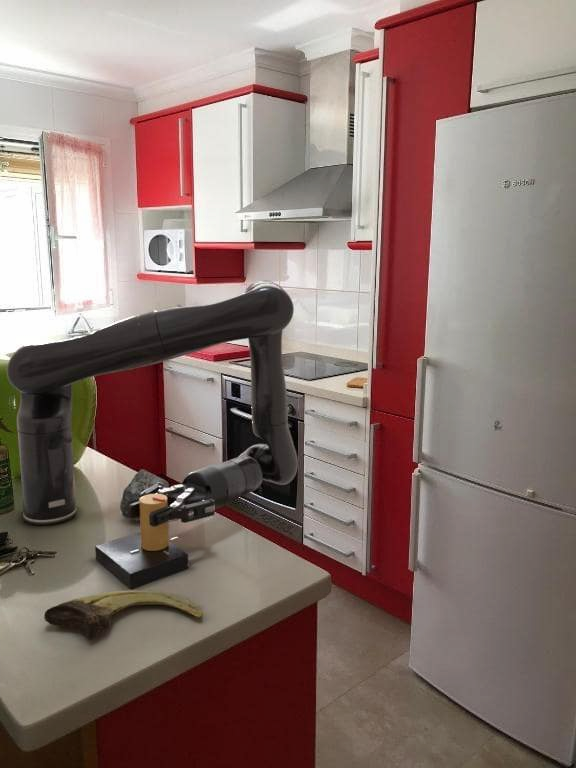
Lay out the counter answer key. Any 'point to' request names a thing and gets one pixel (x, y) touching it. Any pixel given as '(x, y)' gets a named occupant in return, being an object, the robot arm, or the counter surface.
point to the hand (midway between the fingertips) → (140, 516)
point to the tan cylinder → (152, 535)
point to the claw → (109, 609)
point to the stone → (138, 490)
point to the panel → (139, 560)
